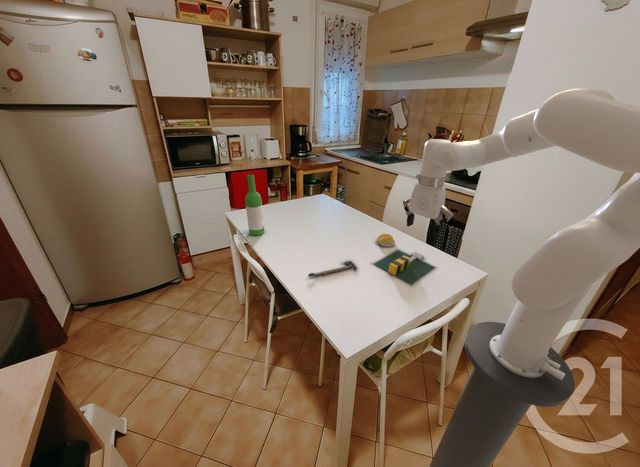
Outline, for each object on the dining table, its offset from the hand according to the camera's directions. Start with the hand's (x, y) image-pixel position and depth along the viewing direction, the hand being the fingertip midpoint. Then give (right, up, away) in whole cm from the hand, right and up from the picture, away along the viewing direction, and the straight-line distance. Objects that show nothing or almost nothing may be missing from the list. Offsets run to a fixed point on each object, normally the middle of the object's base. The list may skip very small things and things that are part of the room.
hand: (422, 229), depth 90 cm
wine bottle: (-68, -1, +45) cm, 81 cm away
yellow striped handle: (+1, -14, +21) cm, 26 cm away
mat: (0, -15, +20) cm, 25 cm away
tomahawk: (-31, -17, +17) cm, 39 cm away
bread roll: (-3, -6, +38) cm, 38 cm away
